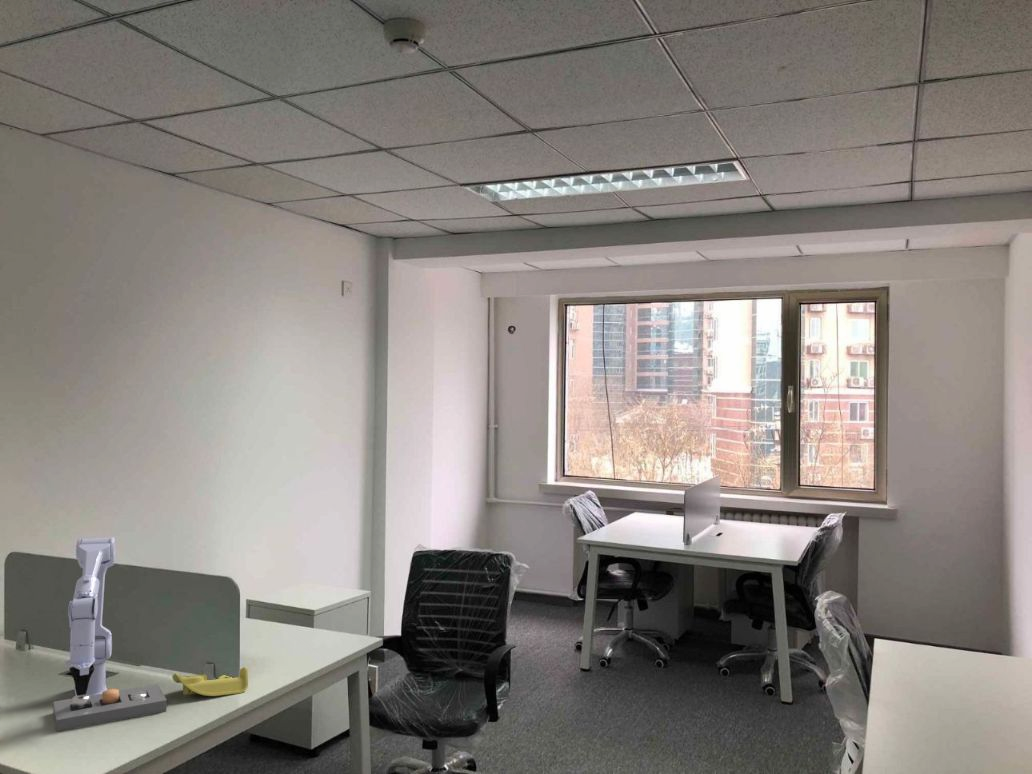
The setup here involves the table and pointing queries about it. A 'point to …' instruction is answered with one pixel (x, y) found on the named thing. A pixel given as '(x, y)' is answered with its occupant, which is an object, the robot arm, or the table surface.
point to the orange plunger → (110, 696)
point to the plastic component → (213, 684)
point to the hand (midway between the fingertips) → (81, 694)
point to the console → (108, 708)
